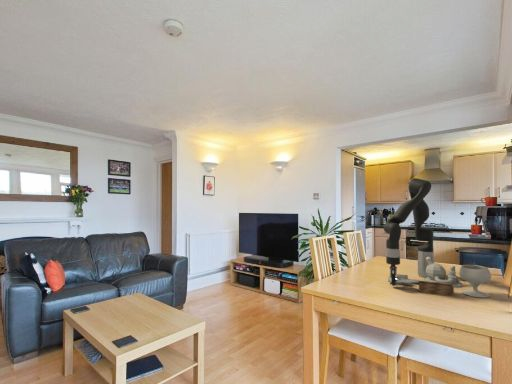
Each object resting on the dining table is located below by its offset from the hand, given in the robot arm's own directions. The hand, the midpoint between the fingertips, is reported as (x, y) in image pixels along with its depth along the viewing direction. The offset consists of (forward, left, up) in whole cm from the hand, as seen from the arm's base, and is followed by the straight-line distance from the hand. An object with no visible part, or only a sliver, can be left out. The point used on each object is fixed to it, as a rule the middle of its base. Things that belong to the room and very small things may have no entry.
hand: (393, 284), depth 165 cm
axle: (+2, +4, +3) cm, 6 cm away
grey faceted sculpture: (-6, +35, -2) cm, 36 cm away
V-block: (-8, +8, -2) cm, 12 cm away
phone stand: (-9, +56, -2) cm, 57 cm away
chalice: (+15, +37, -2) cm, 41 cm away
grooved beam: (+10, +18, -2) cm, 21 cm away
